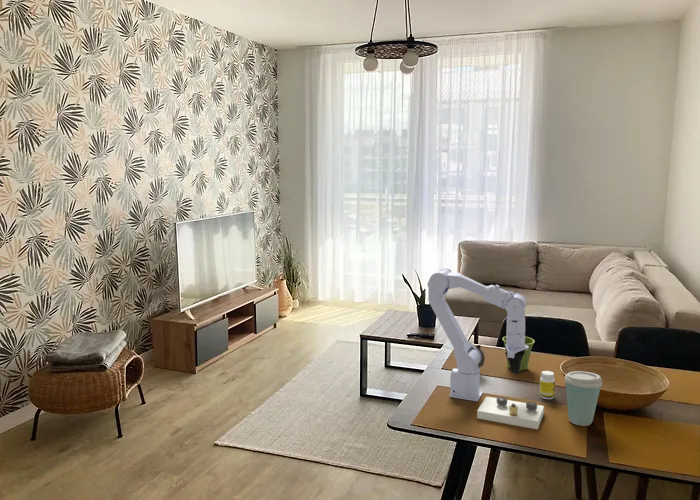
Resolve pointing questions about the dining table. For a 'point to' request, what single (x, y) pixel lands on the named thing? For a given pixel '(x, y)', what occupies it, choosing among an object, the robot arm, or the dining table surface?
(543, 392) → the supplement bottle
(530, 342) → the plant pot
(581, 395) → the disposable coffee cup
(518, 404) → the mount block
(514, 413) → the gold domed cylinder
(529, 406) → the knob
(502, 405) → the knob
